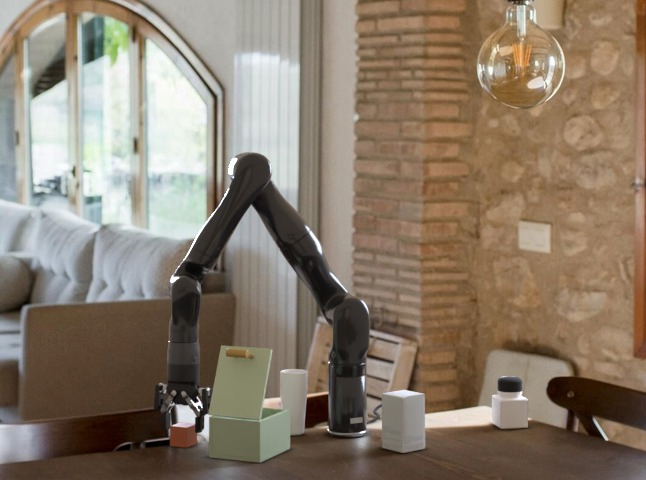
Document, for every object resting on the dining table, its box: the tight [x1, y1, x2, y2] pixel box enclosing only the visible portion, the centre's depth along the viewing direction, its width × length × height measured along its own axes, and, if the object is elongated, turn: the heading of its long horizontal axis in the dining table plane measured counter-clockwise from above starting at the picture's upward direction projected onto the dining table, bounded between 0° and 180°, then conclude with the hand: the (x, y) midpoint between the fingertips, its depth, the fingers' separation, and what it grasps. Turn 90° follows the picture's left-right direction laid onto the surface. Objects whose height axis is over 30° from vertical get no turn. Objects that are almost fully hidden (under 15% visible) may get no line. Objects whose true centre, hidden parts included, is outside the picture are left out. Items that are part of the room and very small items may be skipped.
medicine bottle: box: [491, 375, 529, 430], centre depth 319 cm, size 7×7×12 cm
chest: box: [208, 406, 291, 464], centre depth 289 cm, size 15×13×9 cm
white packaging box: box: [381, 389, 426, 454], centre depth 294 cm, size 7×7×13 cm
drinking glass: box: [279, 368, 309, 437], centre depth 310 cm, size 7×7×15 cm
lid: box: [207, 345, 274, 420], centre depth 284 cm, size 16×13×5 cm
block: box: [169, 422, 198, 449], centre depth 298 cm, size 5×5×5 cm
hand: (182, 430), depth 298 cm, fingers open, 8 cm apart
